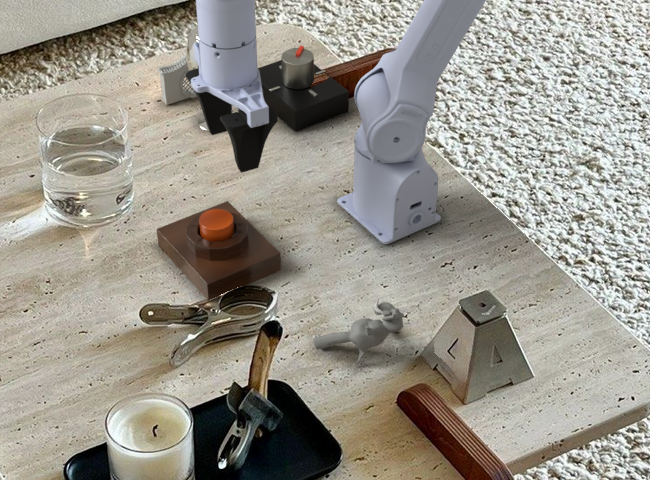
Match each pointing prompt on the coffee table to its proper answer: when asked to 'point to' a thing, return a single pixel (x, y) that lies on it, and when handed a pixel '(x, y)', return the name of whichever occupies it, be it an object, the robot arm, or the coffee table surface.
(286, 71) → the dial
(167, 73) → the lattice window wall
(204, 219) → the button
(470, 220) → the coffee table surface
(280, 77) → the dial panel
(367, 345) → the grey bird figurine
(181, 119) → the coffee table surface
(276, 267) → the button block
